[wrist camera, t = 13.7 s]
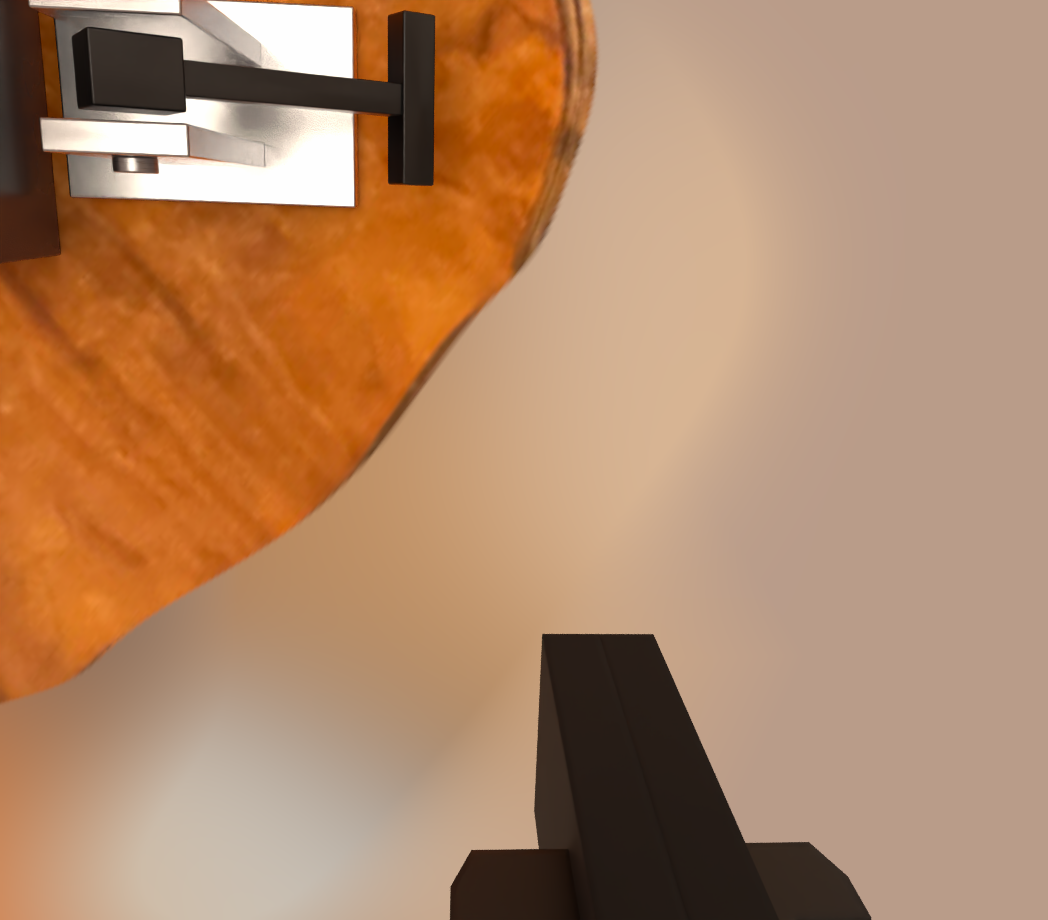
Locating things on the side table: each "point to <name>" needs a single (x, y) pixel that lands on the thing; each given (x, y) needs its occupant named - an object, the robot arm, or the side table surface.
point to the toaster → (24, 141)
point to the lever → (269, 85)
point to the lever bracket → (213, 108)
